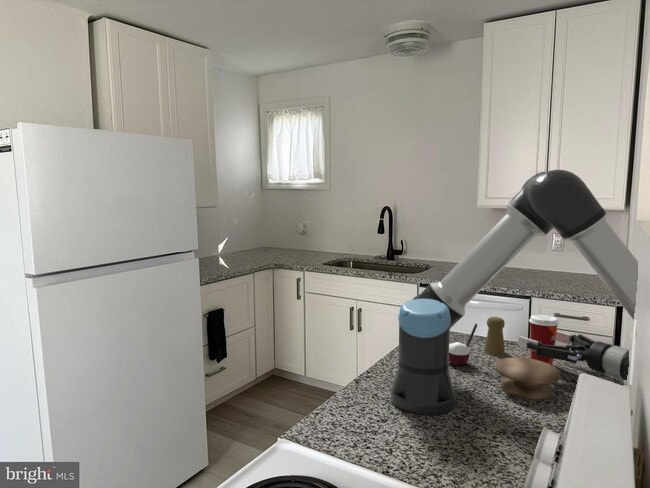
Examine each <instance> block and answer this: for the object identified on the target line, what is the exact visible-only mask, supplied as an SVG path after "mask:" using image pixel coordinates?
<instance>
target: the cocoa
mask: <svg viewBox="0 0 650 488" xmlns="http://www.w3.org/2000/svg"><path fill="white" fill-rule="evenodd" d="M476 329H478V324H477V323H474V326H473V329H472V330H471V333H470V336H469V337H468V339H467V342H466V344H465V343H462V342H460V341H455V342H453V343H449V363H450V364H451V365H454V366H457V367H463V366H465V365H467V363H468V362H469V359H470V351H471V348H470V344H471V341H472V339H473V337H474V334H475V332H476Z"/></svg>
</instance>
